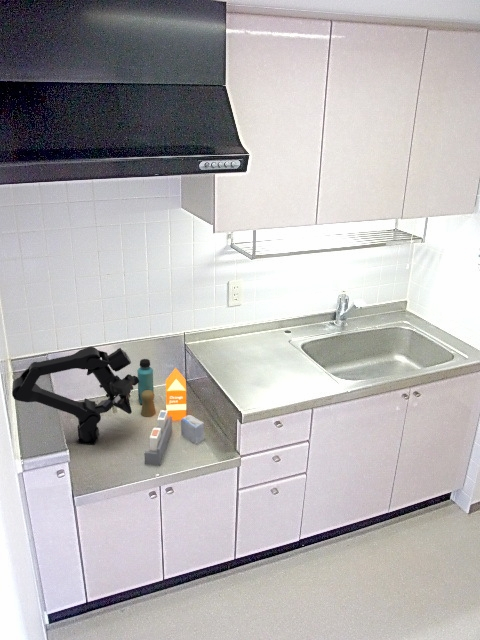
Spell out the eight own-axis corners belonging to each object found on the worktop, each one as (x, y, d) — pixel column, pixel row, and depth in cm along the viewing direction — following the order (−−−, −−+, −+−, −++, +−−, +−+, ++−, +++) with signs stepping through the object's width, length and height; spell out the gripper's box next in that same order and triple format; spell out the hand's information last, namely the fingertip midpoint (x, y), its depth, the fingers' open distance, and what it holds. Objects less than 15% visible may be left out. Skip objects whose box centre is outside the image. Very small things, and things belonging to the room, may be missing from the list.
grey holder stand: (139, 466, 190) (138, 447, 187) (153, 432, 208) (152, 414, 205) (160, 468, 189) (159, 449, 186) (172, 434, 208) (171, 416, 204)
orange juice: (166, 423, 214) (165, 378, 205) (166, 410, 222) (165, 367, 213) (186, 422, 215) (186, 378, 206) (185, 410, 223) (185, 366, 214)
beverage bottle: (149, 397, 230) (147, 355, 222) (157, 404, 226) (156, 361, 217) (135, 402, 226) (133, 359, 218) (143, 409, 222) (141, 366, 214)
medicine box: (204, 442, 204) (204, 422, 200) (195, 447, 201) (195, 427, 197) (189, 433, 209) (189, 413, 205) (180, 438, 205) (180, 418, 202)
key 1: (150, 461, 190) (149, 437, 186) (154, 450, 196) (153, 427, 192) (157, 462, 190) (156, 438, 186) (161, 451, 196) (160, 427, 192)
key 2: (157, 442, 200) (157, 418, 196) (161, 432, 206) (160, 409, 202) (164, 442, 200) (164, 419, 196) (168, 433, 206) (167, 410, 202)
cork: (149, 409, 222) (148, 386, 217) (159, 415, 218) (158, 391, 214) (137, 416, 217) (136, 392, 213) (147, 422, 214) (146, 397, 210)
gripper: (101, 390, 183) (127, 427, 186) (136, 359, 196) (159, 394, 200) (83, 395, 190) (108, 430, 194) (118, 364, 203) (141, 398, 207)
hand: (130, 413), depth 198 cm, fingers closed
